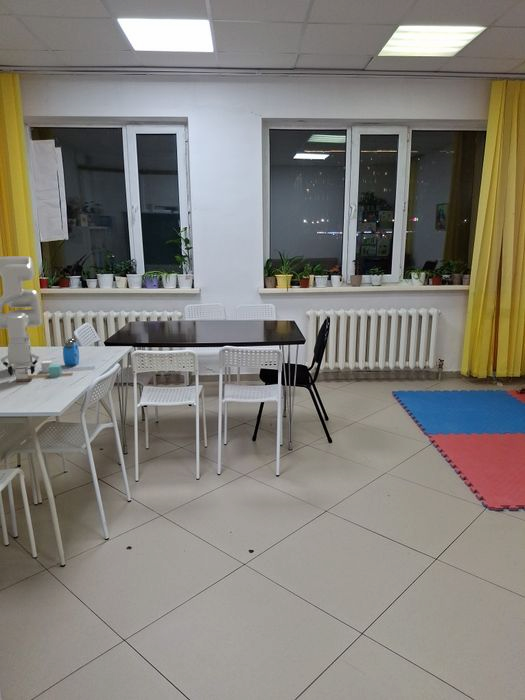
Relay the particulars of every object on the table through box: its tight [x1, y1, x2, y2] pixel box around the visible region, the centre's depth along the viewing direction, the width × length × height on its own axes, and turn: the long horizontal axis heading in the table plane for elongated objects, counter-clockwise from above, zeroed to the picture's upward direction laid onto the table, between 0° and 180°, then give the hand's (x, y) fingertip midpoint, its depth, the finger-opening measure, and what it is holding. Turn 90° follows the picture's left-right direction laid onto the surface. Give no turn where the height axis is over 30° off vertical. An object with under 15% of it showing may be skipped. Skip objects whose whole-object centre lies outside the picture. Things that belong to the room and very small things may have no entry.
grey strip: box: [40, 360, 96, 374], centre depth 246 cm, size 7×26×6 cm, turn 104°
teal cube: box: [48, 364, 63, 378], centre depth 235 cm, size 5×5×5 cm
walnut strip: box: [14, 366, 75, 383], centre depth 234 cm, size 7×26×6 cm, turn 104°
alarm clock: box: [62, 338, 80, 367], centre depth 257 cm, size 13×6×15 cm, turn 12°
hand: (22, 373), depth 232 cm, fingers open, 9 cm apart
